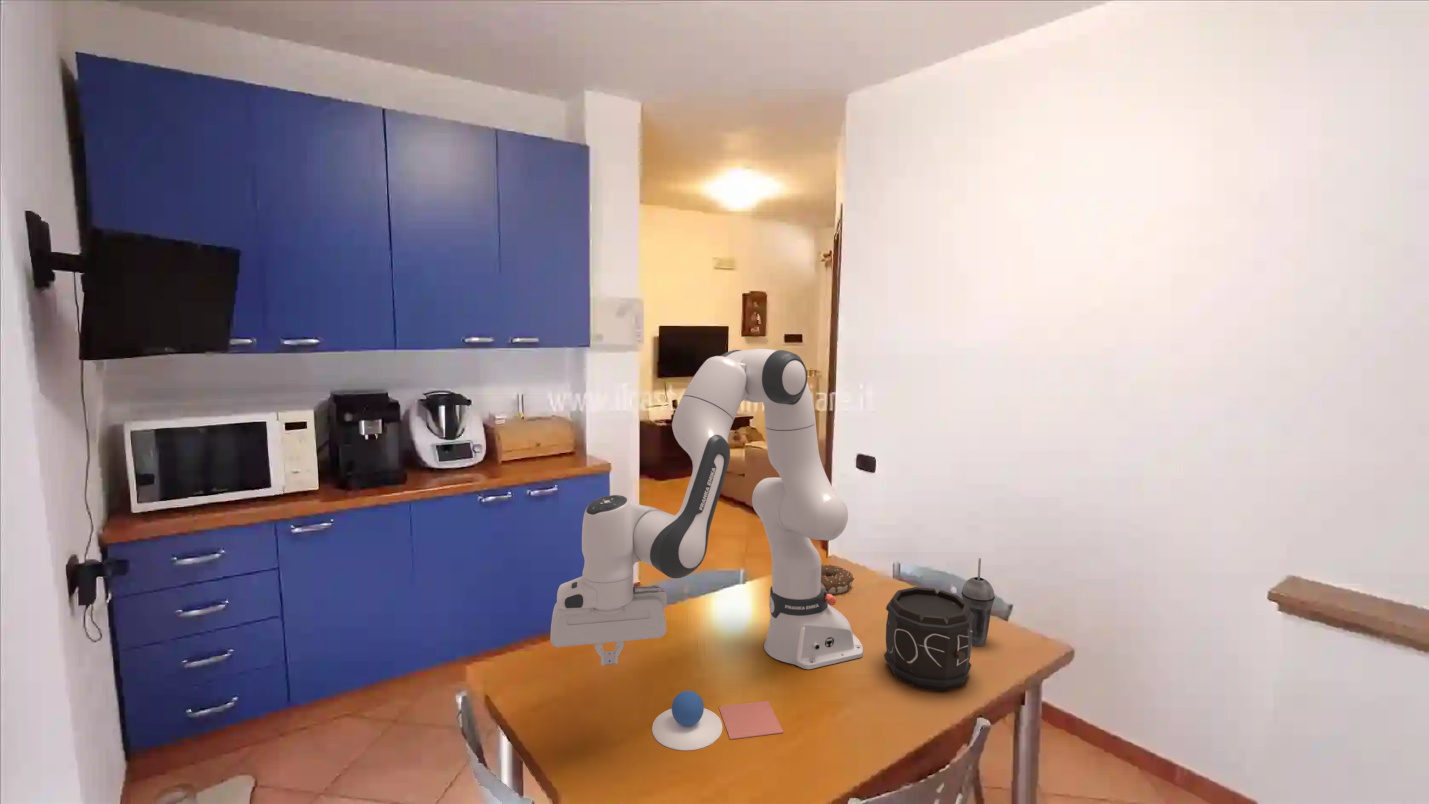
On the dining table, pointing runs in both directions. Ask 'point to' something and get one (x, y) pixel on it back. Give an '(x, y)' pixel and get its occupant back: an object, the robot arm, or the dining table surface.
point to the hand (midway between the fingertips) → (609, 663)
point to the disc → (687, 731)
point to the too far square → (750, 720)
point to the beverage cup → (979, 606)
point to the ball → (687, 708)
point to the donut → (835, 579)
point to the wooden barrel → (929, 638)
